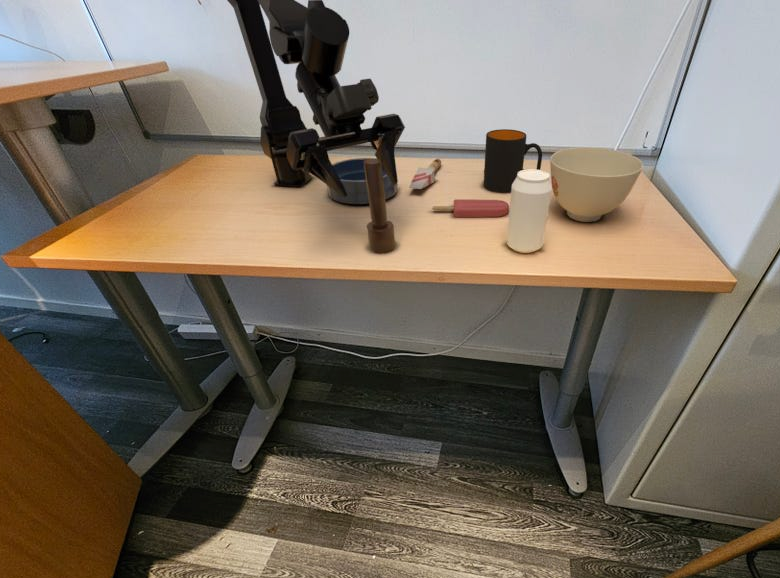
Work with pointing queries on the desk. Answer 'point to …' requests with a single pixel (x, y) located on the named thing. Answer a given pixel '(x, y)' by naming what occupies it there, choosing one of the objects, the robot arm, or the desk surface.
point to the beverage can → (528, 210)
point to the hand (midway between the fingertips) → (371, 190)
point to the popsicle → (477, 208)
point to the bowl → (592, 180)
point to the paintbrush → (425, 175)
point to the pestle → (378, 209)
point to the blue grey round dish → (357, 182)
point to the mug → (505, 158)
